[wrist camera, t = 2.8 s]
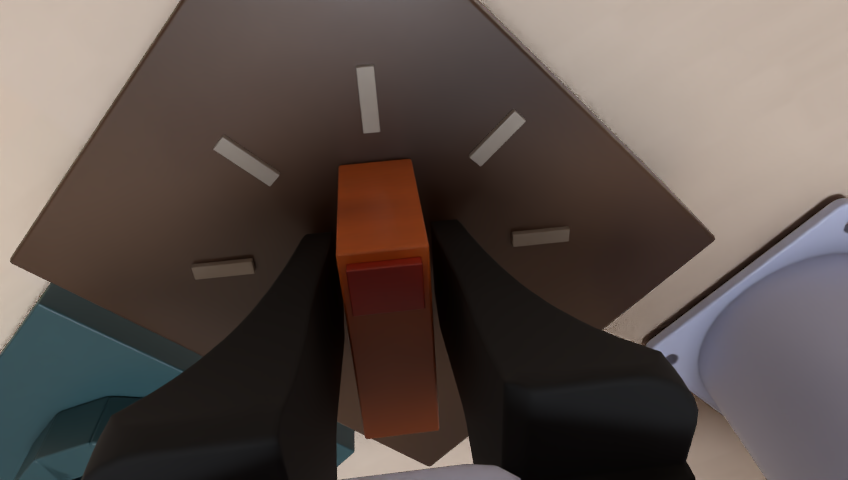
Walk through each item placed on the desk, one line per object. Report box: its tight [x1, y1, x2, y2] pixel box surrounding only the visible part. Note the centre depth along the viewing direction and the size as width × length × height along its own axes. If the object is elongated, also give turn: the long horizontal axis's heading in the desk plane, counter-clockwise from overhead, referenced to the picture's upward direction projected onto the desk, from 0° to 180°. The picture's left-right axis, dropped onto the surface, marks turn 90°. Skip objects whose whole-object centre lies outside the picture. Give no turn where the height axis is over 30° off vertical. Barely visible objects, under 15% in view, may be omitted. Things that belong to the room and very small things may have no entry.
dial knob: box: [336, 159, 439, 439], centre depth 13 cm, size 5×2×4 cm, turn 3°
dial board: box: [10, 0, 715, 466], centre depth 16 cm, size 13×11×3 cm
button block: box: [0, 283, 354, 480], centre depth 20 cm, size 11×9×3 cm
